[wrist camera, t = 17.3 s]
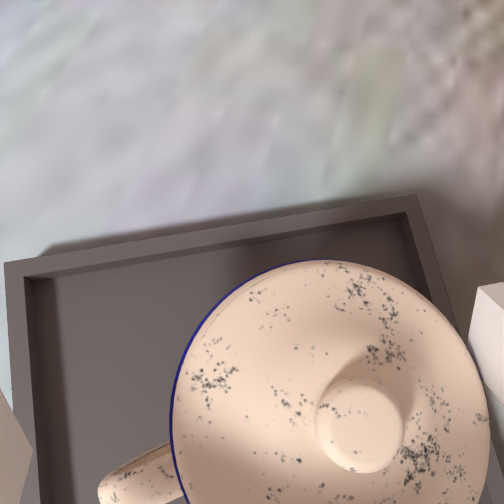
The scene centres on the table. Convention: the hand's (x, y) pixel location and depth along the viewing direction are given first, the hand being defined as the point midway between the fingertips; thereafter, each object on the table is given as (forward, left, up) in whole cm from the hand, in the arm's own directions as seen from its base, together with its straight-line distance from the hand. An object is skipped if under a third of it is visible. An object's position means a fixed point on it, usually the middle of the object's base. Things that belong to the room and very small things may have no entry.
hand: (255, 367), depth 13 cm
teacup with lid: (0, +2, -9) cm, 9 cm away
